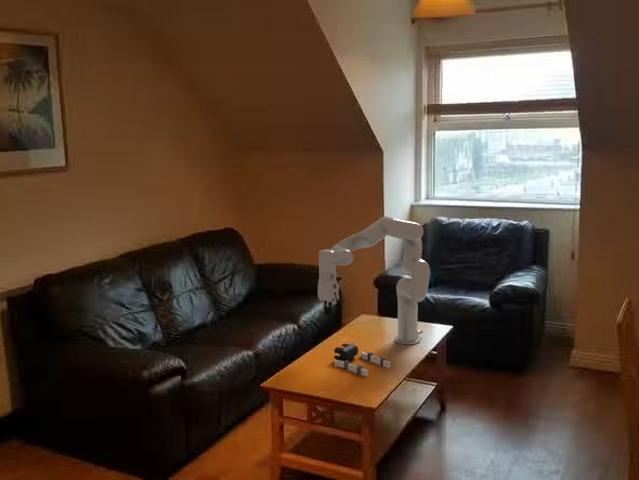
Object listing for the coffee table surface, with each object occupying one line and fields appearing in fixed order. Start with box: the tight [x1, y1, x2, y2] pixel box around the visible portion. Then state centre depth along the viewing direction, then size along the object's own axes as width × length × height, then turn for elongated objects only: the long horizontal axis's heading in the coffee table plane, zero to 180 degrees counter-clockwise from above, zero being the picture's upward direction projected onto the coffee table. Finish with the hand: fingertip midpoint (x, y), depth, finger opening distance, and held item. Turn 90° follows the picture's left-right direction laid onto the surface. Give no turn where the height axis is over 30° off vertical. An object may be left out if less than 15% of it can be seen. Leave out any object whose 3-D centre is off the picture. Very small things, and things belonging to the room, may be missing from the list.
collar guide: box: [334, 350, 391, 377], centre depth 298 cm, size 18×19×4 cm
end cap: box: [333, 343, 359, 361], centre depth 306 cm, size 10×7×7 cm
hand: (327, 314), depth 312 cm, fingers closed
